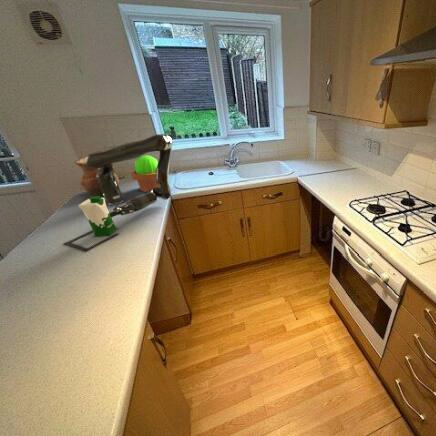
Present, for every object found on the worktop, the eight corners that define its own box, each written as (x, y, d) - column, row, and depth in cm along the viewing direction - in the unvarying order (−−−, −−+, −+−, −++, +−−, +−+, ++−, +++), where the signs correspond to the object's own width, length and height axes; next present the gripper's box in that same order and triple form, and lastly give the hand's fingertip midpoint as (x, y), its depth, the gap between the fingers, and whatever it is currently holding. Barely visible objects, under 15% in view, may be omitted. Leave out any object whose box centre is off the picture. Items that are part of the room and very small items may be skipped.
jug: (87, 200, 162) (70, 164, 150) (85, 192, 176) (69, 158, 164) (125, 192, 175) (111, 158, 163) (119, 184, 189) (107, 153, 177)
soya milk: (110, 236, 122) (94, 200, 112) (91, 237, 121) (73, 202, 111) (119, 227, 129) (104, 193, 120) (101, 228, 129) (85, 194, 119)
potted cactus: (174, 182, 191) (165, 150, 179) (162, 192, 172) (151, 158, 160) (146, 183, 191) (136, 151, 178) (131, 194, 171) (118, 159, 159)
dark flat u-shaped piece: (64, 244, 117) (64, 243, 116) (97, 228, 129) (97, 228, 129) (85, 251, 111) (85, 251, 110) (118, 234, 123) (117, 234, 123)
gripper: (128, 195, 140) (97, 207, 126) (144, 198, 135) (114, 211, 121) (133, 207, 143) (103, 220, 129) (148, 210, 139) (119, 224, 125)
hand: (108, 216), depth 125 cm, fingers closed
